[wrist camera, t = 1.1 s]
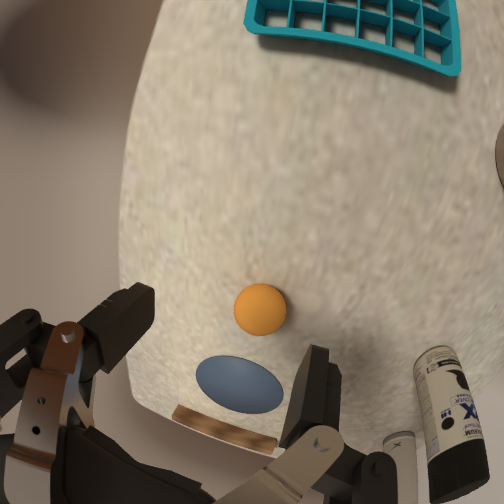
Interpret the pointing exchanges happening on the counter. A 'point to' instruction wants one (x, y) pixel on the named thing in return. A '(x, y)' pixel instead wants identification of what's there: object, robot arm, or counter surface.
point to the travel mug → (404, 465)
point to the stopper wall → (224, 430)
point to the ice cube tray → (444, 17)
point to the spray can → (449, 427)
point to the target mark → (239, 384)
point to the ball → (259, 309)
